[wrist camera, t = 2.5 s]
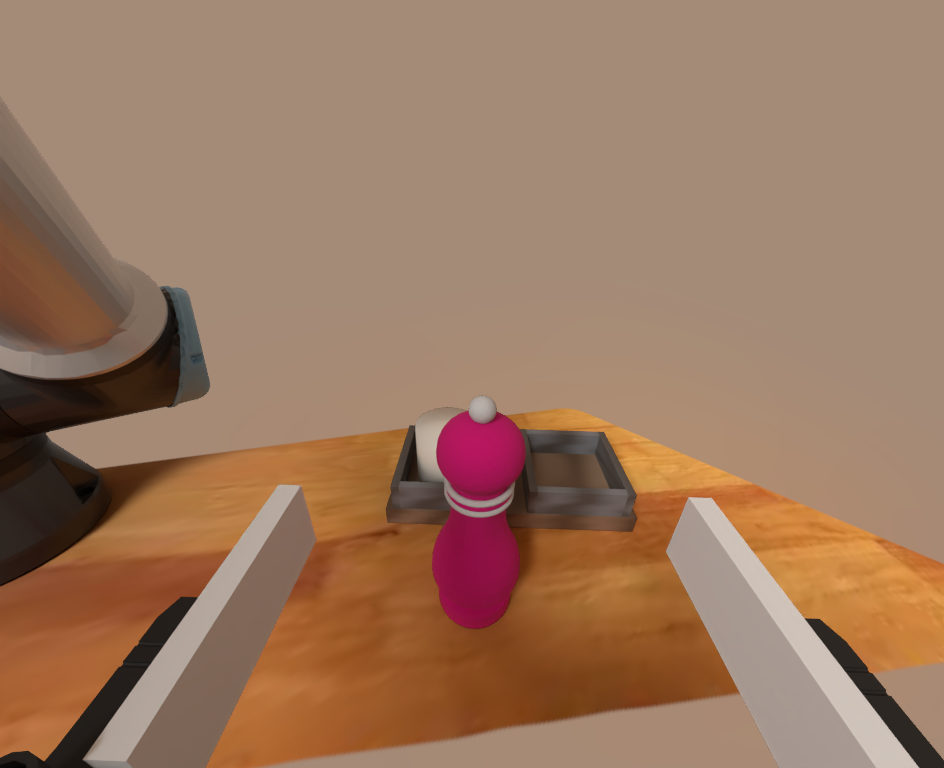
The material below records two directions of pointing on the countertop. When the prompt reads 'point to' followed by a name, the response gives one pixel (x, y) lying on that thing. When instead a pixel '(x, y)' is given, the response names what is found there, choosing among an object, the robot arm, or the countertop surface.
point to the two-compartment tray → (534, 486)
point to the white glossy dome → (431, 442)
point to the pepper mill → (478, 514)
